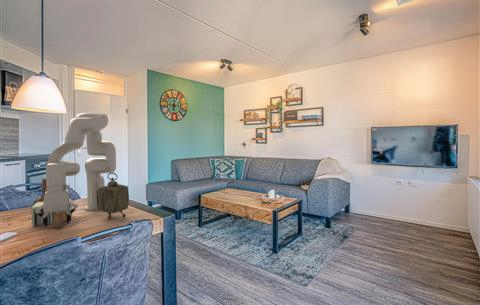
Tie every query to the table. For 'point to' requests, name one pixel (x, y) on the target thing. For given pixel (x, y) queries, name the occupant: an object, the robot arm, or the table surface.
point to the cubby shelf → (37, 205)
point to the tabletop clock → (112, 197)
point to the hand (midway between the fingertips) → (57, 224)
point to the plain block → (40, 219)
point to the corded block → (59, 219)
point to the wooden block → (44, 189)
